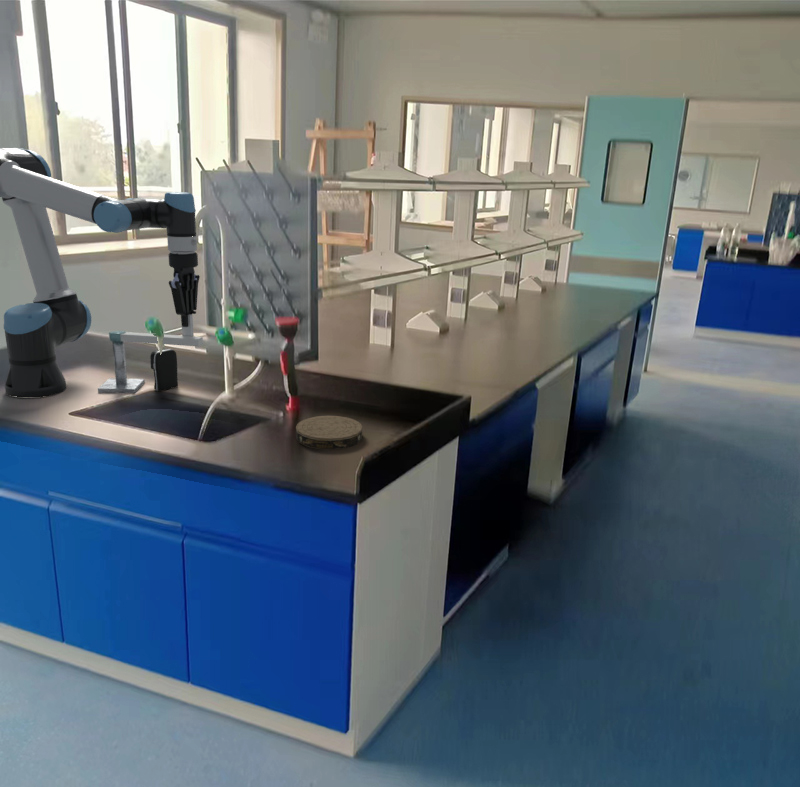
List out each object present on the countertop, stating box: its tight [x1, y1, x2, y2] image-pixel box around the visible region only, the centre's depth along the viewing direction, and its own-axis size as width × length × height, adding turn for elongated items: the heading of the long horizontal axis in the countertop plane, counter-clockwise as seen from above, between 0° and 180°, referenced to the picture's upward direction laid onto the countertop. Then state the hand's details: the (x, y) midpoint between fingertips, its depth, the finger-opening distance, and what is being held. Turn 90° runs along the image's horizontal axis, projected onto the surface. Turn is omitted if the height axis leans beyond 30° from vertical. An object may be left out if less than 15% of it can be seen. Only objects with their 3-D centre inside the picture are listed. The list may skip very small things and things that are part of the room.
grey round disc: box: [295, 415, 363, 450], centre depth 177 cm, size 16×16×3 cm
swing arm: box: [108, 330, 204, 347], centre depth 203 cm, size 26×4×2 cm, turn 83°
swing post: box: [97, 341, 146, 394], centre depth 206 cm, size 10×10×14 cm
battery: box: [149, 348, 179, 392], centre depth 207 cm, size 7×4×11 cm, turn 142°
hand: (188, 337), depth 204 cm, fingers closed
